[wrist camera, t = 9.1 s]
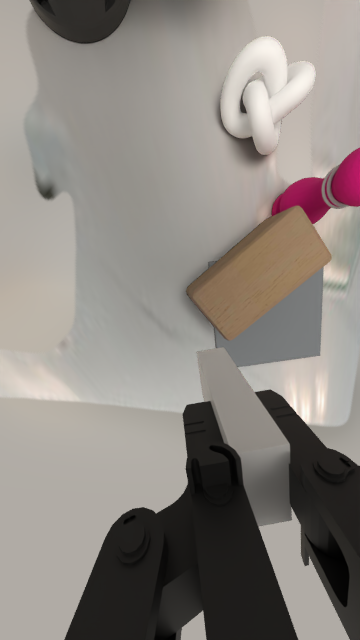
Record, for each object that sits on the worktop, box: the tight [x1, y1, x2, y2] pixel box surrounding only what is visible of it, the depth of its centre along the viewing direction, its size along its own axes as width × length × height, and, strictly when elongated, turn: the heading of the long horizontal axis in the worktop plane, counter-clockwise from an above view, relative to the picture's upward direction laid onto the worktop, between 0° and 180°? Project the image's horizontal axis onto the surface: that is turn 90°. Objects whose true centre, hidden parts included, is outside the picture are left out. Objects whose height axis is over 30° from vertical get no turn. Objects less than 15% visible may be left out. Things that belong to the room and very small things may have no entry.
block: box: [186, 206, 332, 341], centre depth 37 cm, size 10×10×20 cm
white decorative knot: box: [220, 36, 316, 155], centre depth 32 cm, size 11×12×9 cm
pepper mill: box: [272, 148, 360, 224], centre depth 30 cm, size 7×7×20 cm
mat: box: [209, 261, 323, 367], centre depth 44 cm, size 22×22×1 cm
